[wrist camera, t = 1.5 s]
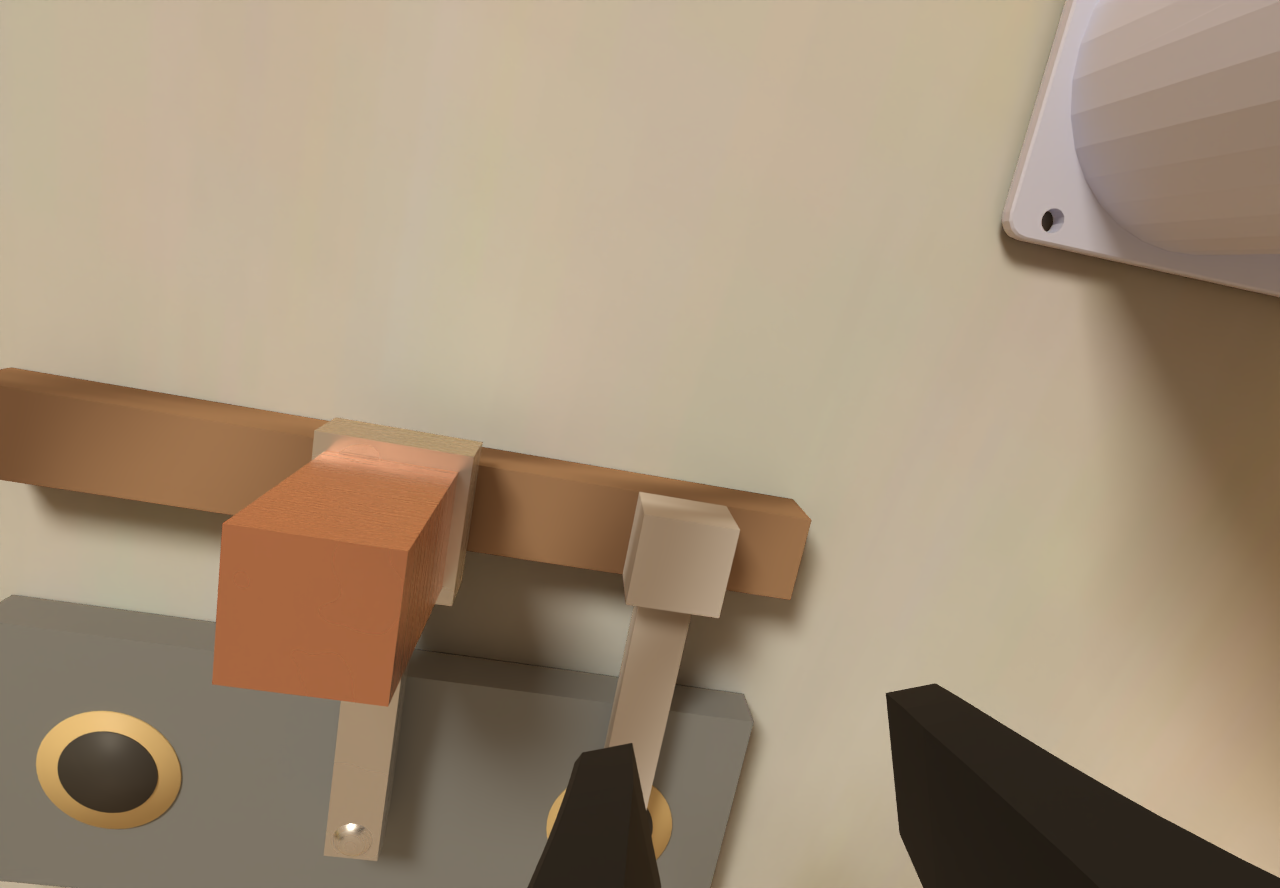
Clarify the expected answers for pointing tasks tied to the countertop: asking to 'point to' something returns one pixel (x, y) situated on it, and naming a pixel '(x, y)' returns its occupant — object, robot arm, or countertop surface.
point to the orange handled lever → (347, 595)
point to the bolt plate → (310, 765)
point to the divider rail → (500, 524)
